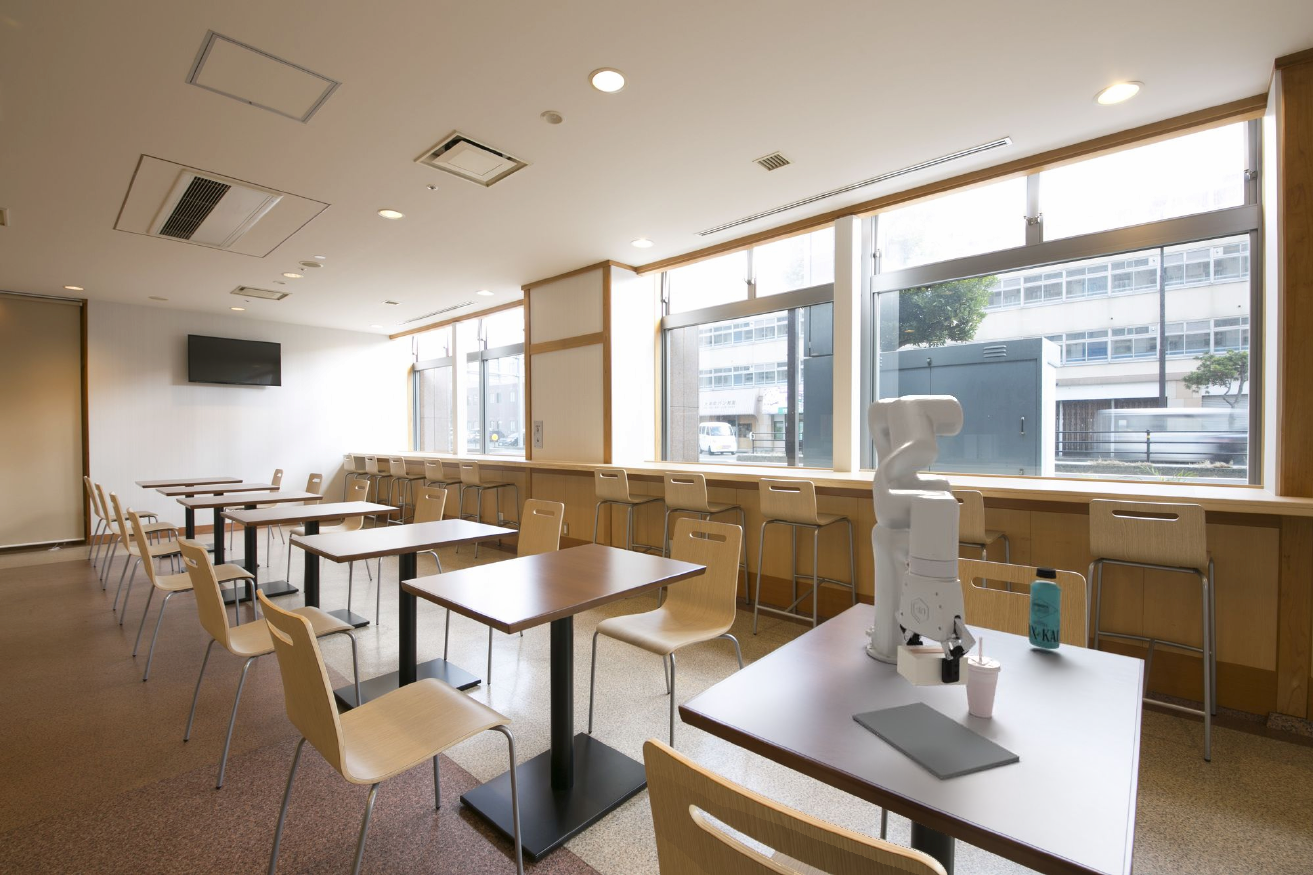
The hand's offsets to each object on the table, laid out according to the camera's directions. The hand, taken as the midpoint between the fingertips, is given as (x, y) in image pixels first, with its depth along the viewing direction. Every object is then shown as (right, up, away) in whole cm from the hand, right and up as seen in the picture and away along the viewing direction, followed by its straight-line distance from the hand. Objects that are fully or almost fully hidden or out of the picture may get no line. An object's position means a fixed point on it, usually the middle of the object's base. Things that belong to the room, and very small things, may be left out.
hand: (931, 672), depth 99 cm
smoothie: (+13, -12, +10) cm, 20 cm away
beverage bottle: (+47, -12, +42) cm, 65 cm away
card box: (0, -1, 0) cm, 1 cm away
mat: (0, -11, 0) cm, 11 cm away
